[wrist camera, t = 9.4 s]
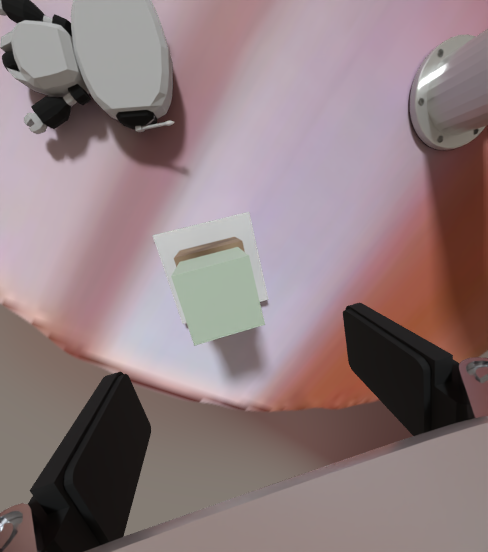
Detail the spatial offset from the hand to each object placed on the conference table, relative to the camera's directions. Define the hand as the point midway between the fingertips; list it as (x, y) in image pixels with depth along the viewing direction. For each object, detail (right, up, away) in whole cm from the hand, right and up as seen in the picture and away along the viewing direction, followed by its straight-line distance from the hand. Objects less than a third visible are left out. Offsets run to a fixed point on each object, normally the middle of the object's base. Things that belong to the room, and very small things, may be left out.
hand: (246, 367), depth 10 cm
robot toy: (-15, +25, +15) cm, 33 cm away
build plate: (-4, +5, +21) cm, 22 cm away
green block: (-3, +3, +14) cm, 15 cm away
